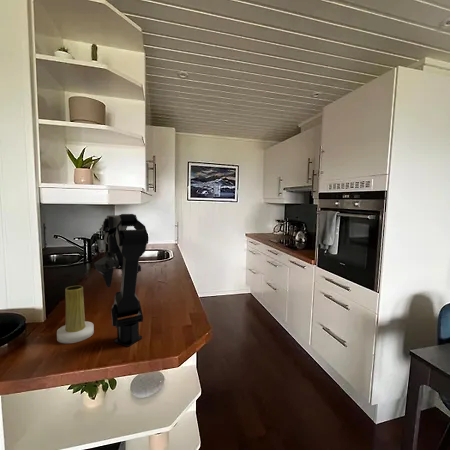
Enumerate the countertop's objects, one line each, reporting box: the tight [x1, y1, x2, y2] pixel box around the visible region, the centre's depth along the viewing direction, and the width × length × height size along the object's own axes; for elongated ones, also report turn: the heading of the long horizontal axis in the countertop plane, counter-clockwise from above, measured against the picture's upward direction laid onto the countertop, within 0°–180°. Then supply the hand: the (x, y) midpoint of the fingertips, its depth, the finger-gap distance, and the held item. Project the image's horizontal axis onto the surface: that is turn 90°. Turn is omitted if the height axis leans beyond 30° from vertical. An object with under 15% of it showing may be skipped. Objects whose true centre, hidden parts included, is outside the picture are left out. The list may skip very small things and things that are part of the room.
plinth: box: [56, 320, 95, 344], centre depth 91 cm, size 11×11×2 cm
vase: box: [64, 285, 86, 332], centre depth 90 cm, size 6×6×14 cm
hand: (117, 288), depth 101 cm, fingers open, 9 cm apart
